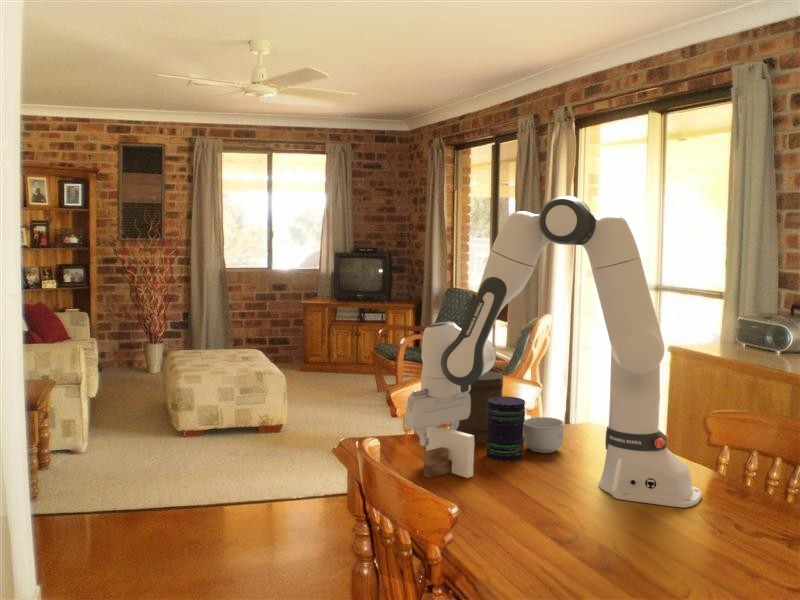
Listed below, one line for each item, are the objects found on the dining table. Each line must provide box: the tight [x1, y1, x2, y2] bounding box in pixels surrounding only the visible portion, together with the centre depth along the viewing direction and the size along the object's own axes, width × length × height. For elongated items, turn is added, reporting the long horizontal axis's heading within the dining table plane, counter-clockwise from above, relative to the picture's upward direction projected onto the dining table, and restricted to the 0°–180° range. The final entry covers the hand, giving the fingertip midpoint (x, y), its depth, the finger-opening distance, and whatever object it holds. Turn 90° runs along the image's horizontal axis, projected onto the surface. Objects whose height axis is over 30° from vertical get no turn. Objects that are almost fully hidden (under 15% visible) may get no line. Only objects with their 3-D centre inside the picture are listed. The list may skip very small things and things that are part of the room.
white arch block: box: [425, 425, 474, 479], centre depth 201 cm, size 14×2×10 cm, turn 43°
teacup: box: [523, 415, 565, 454], centre depth 222 cm, size 14×11×8 cm
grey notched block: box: [423, 442, 476, 479], centre depth 201 cm, size 16×2×6 cm, turn 133°
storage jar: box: [485, 395, 526, 462], centre depth 213 cm, size 10×10×15 cm
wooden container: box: [449, 370, 504, 445], centre depth 232 cm, size 15×15×22 cm
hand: (437, 441), depth 204 cm, fingers open, 8 cm apart
